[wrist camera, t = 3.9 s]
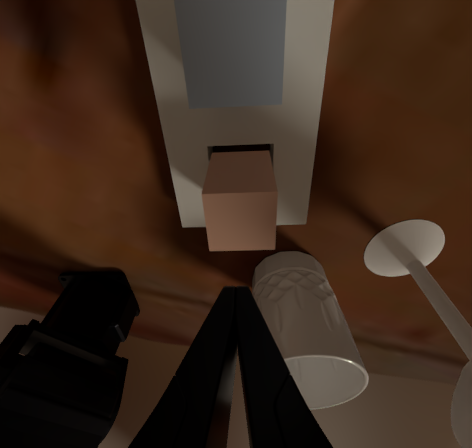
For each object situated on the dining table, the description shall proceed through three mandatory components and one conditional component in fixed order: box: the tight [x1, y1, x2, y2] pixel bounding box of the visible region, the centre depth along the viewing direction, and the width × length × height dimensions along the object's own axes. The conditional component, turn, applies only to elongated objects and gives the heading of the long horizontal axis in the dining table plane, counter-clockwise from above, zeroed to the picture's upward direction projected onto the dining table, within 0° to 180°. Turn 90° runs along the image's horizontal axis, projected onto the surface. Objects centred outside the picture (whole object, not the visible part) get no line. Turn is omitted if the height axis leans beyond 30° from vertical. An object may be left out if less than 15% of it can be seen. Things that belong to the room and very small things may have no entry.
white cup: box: [252, 251, 369, 410], centre depth 22 cm, size 8×8×10 cm
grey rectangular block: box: [174, 0, 287, 109], centre depth 11 cm, size 3×3×5 cm
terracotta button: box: [201, 150, 278, 251], centre depth 15 cm, size 3×3×5 cm
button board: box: [136, 0, 334, 228], centre depth 14 cm, size 9×22×2 cm, turn 3°
